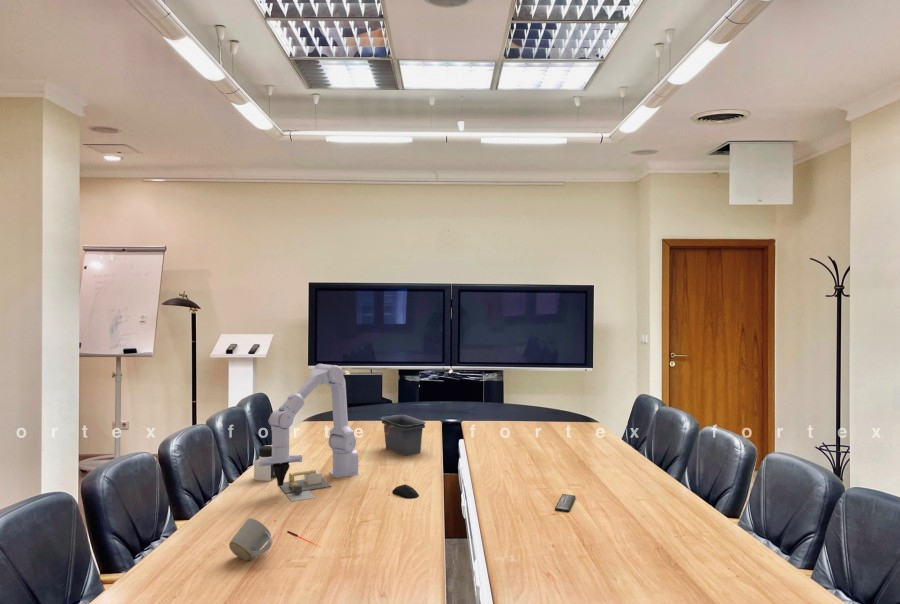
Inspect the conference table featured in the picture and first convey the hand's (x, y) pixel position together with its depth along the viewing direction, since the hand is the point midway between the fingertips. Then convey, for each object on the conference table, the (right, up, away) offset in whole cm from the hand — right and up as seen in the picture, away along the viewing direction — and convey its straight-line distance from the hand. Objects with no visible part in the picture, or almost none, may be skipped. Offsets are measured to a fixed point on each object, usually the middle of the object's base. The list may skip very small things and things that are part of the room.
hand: (280, 484), depth 196 cm
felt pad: (+8, -3, -2) cm, 9 cm away
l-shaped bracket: (+8, -2, +5) cm, 9 cm away
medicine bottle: (-10, -4, +18) cm, 21 cm away
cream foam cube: (+9, -3, +12) cm, 15 cm away
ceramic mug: (+8, -4, -49) cm, 50 cm away
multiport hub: (+96, -5, -11) cm, 97 cm away
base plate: (+6, -3, +9) cm, 11 cm away
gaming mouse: (+44, -4, -1) cm, 45 cm away
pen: (+18, -4, -38) cm, 42 cm away
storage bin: (+37, -4, +57) cm, 68 cm away
